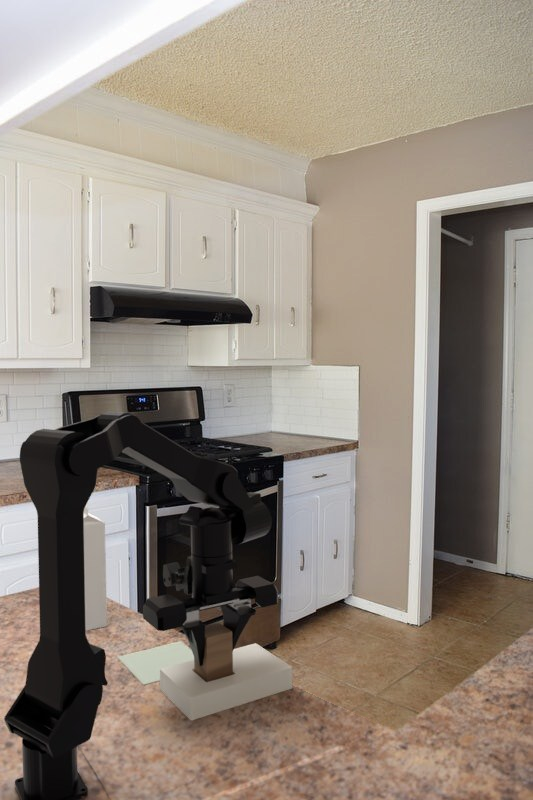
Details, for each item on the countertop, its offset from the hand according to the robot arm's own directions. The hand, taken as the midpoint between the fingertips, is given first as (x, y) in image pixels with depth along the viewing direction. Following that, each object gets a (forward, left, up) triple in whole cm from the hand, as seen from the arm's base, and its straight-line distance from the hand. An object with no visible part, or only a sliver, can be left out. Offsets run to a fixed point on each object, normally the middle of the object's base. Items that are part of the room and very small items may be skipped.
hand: (213, 661), depth 96 cm
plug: (0, 0, -4) cm, 4 cm away
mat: (+13, +2, -5) cm, 14 cm away
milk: (+36, +7, -5) cm, 37 cm away
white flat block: (0, -2, -5) cm, 5 cm away
